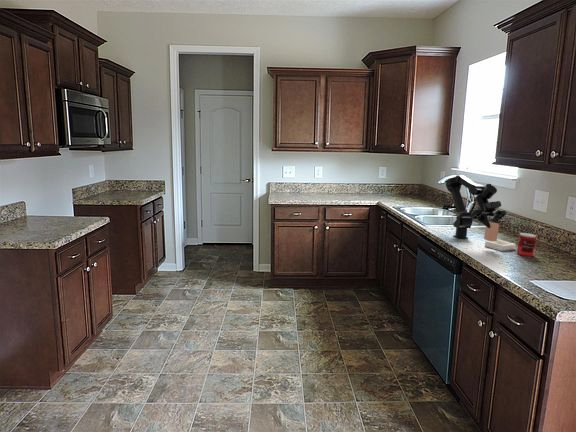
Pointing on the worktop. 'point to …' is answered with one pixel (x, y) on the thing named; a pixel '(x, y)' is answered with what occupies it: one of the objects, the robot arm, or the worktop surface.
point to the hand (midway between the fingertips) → (493, 227)
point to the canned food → (526, 244)
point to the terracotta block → (491, 232)
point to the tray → (500, 245)
